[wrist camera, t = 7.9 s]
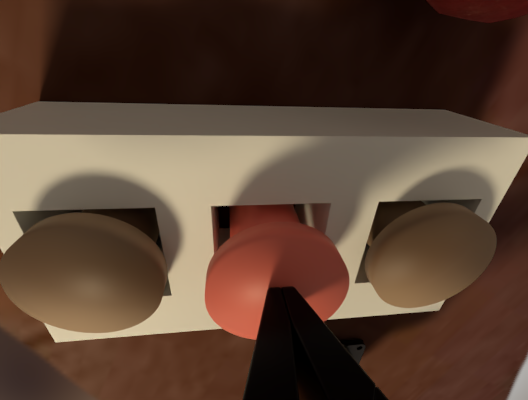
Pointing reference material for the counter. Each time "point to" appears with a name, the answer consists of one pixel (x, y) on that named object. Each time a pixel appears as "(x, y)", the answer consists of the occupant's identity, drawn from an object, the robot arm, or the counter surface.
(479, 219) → the walnut plunger far
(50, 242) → the walnut plunger near
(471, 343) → the counter surface
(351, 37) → the counter surface
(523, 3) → the onion
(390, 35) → the counter surface
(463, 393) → the counter surface
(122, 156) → the jig
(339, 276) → the red plunger
